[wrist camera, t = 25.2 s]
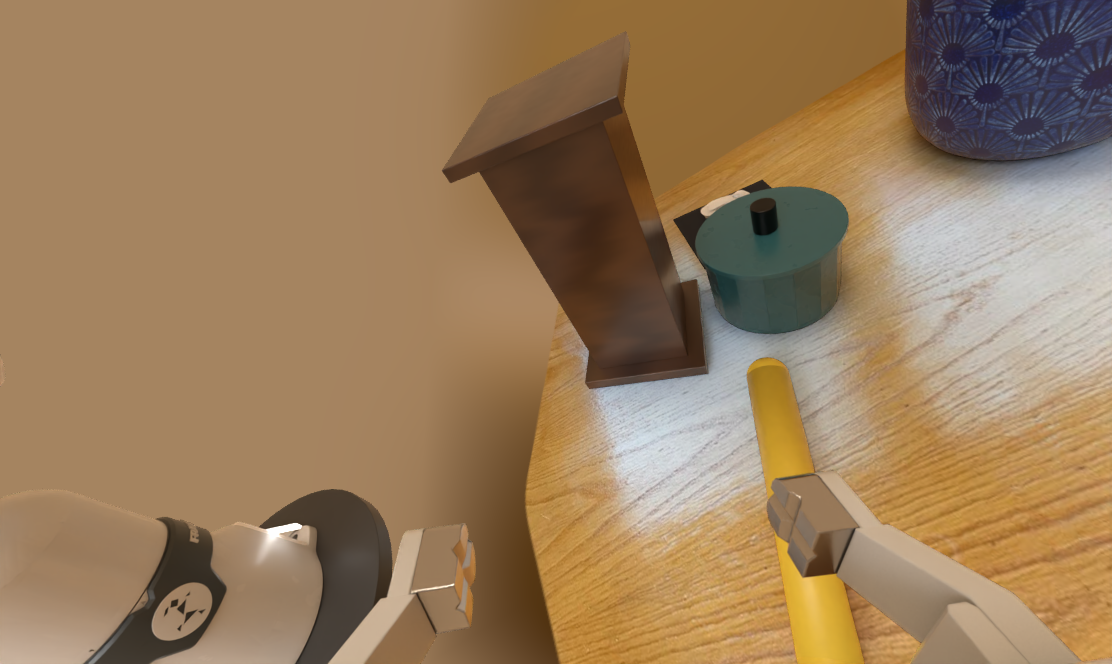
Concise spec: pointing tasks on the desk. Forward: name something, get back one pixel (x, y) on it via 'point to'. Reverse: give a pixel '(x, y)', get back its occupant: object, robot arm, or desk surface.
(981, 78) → the planter
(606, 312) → the stand
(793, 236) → the pot lid
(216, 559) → the robot arm
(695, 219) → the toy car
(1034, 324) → the desk surface
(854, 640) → the yellow rounded rod
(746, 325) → the pot
